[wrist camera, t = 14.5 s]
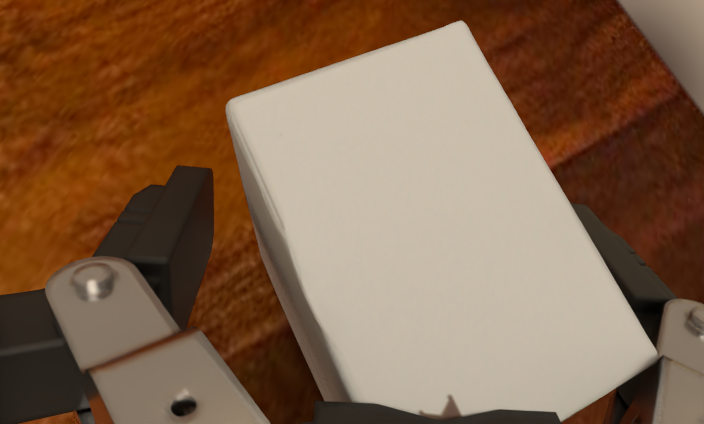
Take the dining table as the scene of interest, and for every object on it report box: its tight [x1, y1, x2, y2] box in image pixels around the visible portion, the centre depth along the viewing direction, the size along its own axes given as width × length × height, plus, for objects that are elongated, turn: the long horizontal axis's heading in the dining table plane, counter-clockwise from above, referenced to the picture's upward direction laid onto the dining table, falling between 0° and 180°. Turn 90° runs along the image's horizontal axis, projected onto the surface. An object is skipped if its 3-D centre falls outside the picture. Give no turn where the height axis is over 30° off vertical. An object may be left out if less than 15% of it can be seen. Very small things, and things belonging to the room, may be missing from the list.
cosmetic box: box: [226, 21, 658, 422], centre depth 13 cm, size 6×4×12 cm
